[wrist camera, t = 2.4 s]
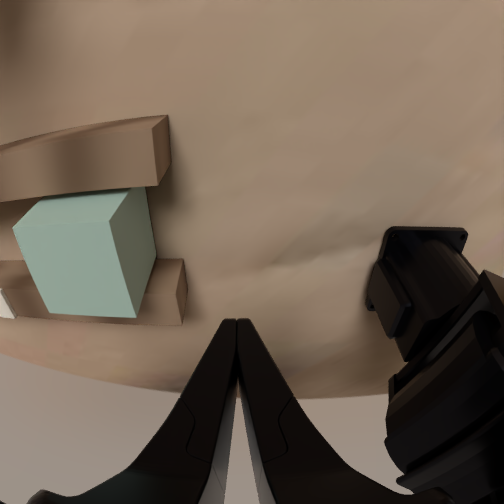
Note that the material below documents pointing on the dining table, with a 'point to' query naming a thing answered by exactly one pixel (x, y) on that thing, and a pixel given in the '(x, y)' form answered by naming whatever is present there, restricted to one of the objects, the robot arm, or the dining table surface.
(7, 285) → the chute
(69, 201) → the block
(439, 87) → the dining table surface
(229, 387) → the robot arm
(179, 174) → the dining table surface
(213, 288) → the dining table surface
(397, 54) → the dining table surface
